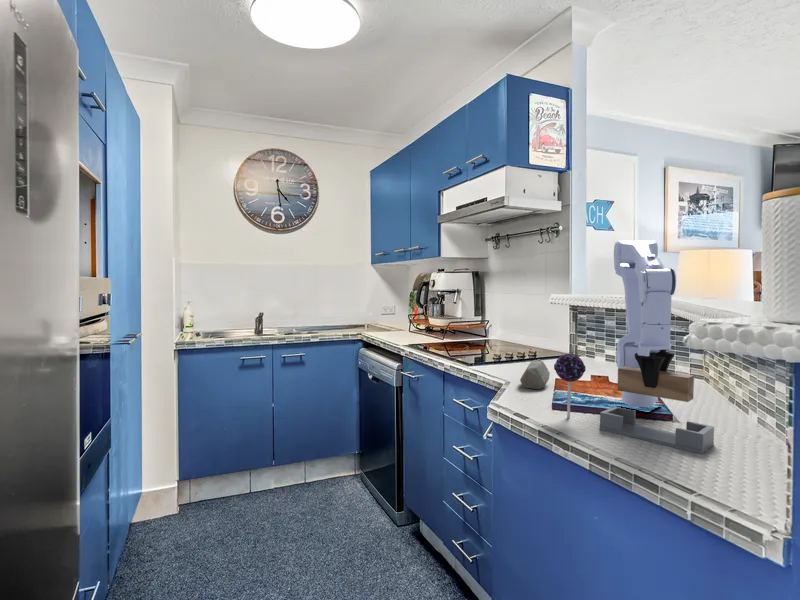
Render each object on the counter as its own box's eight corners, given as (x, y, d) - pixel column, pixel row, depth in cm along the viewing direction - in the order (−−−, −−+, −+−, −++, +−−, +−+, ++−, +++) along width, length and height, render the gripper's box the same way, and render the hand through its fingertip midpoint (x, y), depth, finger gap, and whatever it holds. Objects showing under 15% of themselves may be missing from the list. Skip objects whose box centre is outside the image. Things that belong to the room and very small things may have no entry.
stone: (545, 391, 133) (546, 364, 133) (517, 388, 137) (517, 362, 136) (551, 383, 144) (552, 358, 144) (525, 381, 148) (526, 356, 147)
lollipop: (547, 417, 106) (548, 353, 106) (561, 412, 111) (562, 350, 111) (576, 424, 102) (577, 357, 101) (589, 418, 106) (590, 353, 106)
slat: (624, 387, 107) (624, 366, 107) (693, 398, 97) (693, 375, 97) (617, 390, 104) (617, 368, 104) (687, 402, 94) (688, 377, 94)
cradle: (614, 422, 103) (614, 406, 103) (713, 444, 89) (714, 426, 89) (599, 429, 98) (599, 412, 98) (702, 453, 84) (702, 434, 84)
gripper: (647, 321, 108) (646, 378, 108) (623, 324, 98) (621, 387, 98) (681, 323, 103) (679, 383, 103) (659, 326, 93) (657, 393, 93)
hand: (653, 385), depth 100 cm, fingers closed on slat, 4 cm apart
